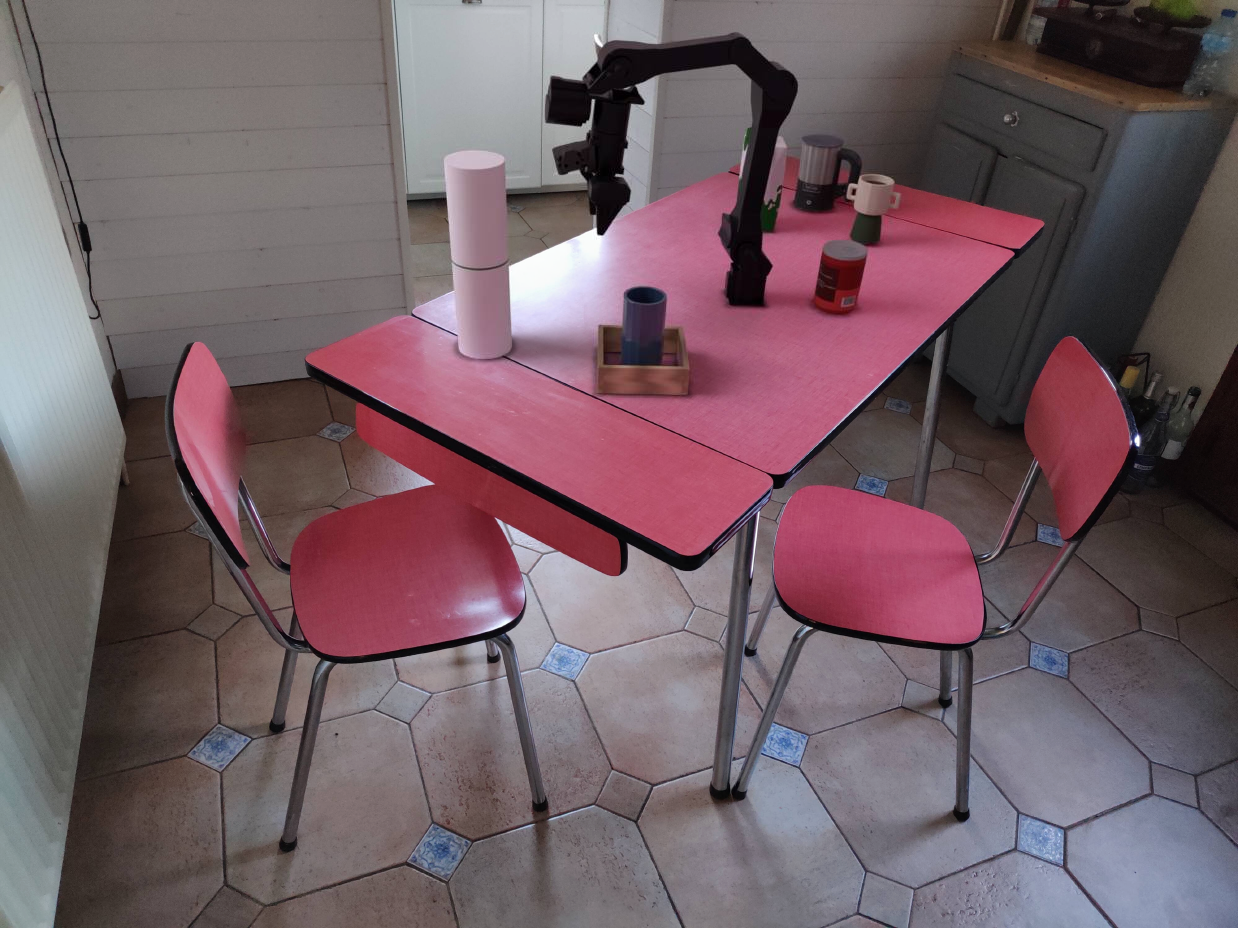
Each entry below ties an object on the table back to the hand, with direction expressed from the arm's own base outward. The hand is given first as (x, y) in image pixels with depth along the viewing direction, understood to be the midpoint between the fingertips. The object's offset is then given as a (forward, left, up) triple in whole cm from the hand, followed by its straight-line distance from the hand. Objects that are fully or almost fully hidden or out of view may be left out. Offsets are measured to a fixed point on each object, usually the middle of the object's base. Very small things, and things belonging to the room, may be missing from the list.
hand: (596, 224), depth 149 cm
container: (+18, +16, -15) cm, 28 cm away
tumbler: (-7, +23, -15) cm, 28 cm away
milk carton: (-34, -40, -15) cm, 55 cm away
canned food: (-43, -2, -15) cm, 46 cm away
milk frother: (-52, -56, -15) cm, 78 cm away
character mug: (-56, -33, -15) cm, 67 cm away
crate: (-7, +23, -15) cm, 28 cm away
